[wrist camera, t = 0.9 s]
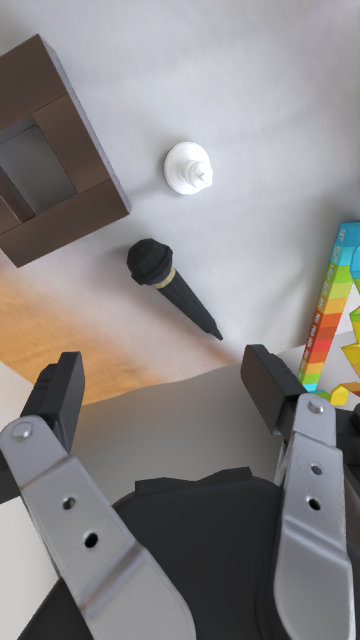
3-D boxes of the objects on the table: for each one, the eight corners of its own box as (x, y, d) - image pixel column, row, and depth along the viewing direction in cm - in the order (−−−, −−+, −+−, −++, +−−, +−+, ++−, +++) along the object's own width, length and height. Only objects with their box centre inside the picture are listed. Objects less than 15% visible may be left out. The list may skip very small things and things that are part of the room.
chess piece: (186, 129, 26) (205, 119, 18) (218, 167, 28) (249, 175, 20) (154, 170, 28) (158, 180, 19) (187, 204, 30) (204, 225, 21)
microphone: (223, 318, 43) (144, 225, 31) (244, 335, 38) (161, 232, 26) (200, 342, 43) (112, 257, 31) (219, 361, 38) (124, 270, 26)
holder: (-72, 125, 24) (-107, 122, 20) (54, 50, 22) (38, 32, 19) (31, 255, 31) (17, 268, 28) (131, 206, 29) (129, 214, 26)
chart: (339, 223, 33) (456, 267, 21) (362, 221, 33) (492, 264, 21) (292, 386, 50) (342, 465, 38) (308, 384, 50) (362, 462, 38)
